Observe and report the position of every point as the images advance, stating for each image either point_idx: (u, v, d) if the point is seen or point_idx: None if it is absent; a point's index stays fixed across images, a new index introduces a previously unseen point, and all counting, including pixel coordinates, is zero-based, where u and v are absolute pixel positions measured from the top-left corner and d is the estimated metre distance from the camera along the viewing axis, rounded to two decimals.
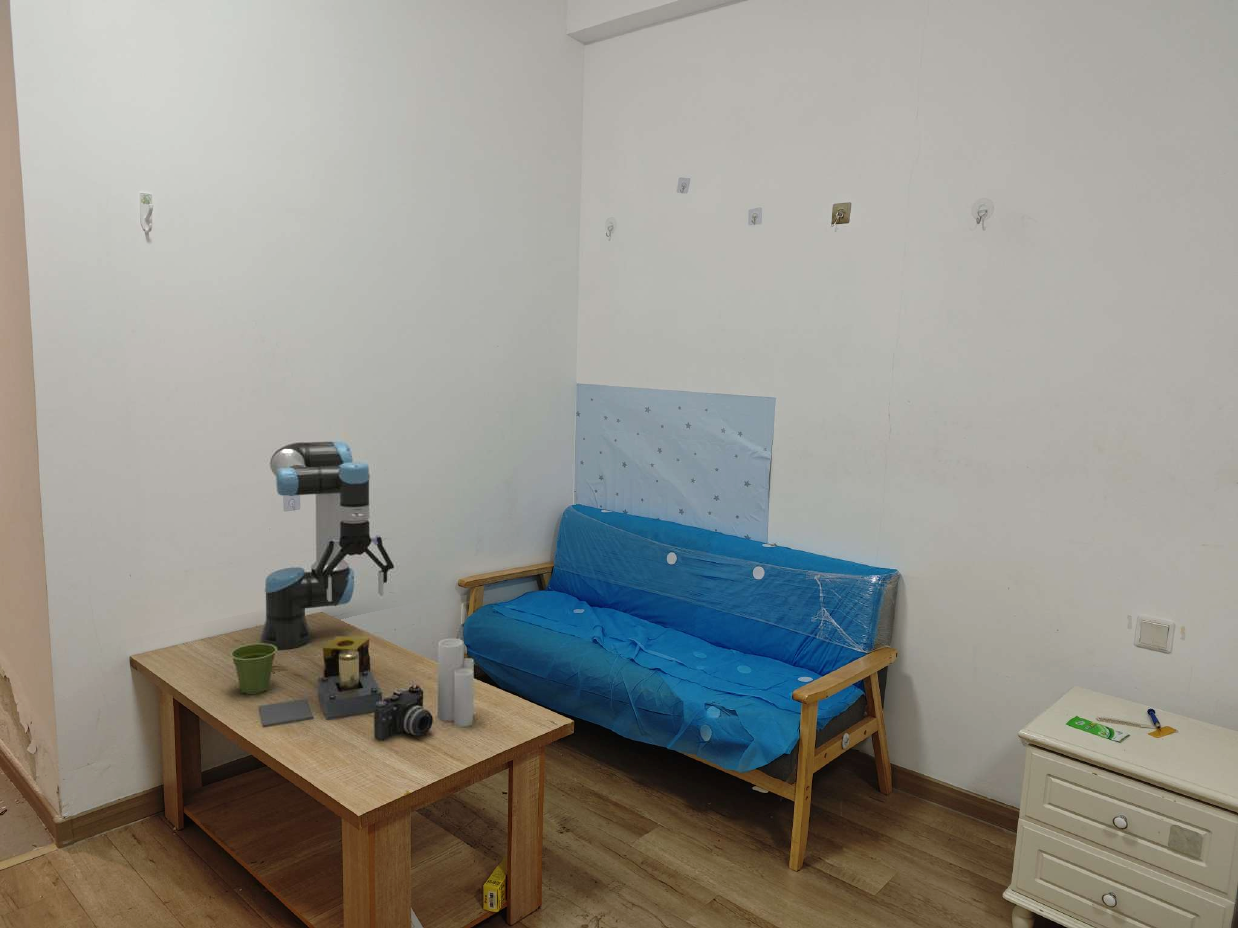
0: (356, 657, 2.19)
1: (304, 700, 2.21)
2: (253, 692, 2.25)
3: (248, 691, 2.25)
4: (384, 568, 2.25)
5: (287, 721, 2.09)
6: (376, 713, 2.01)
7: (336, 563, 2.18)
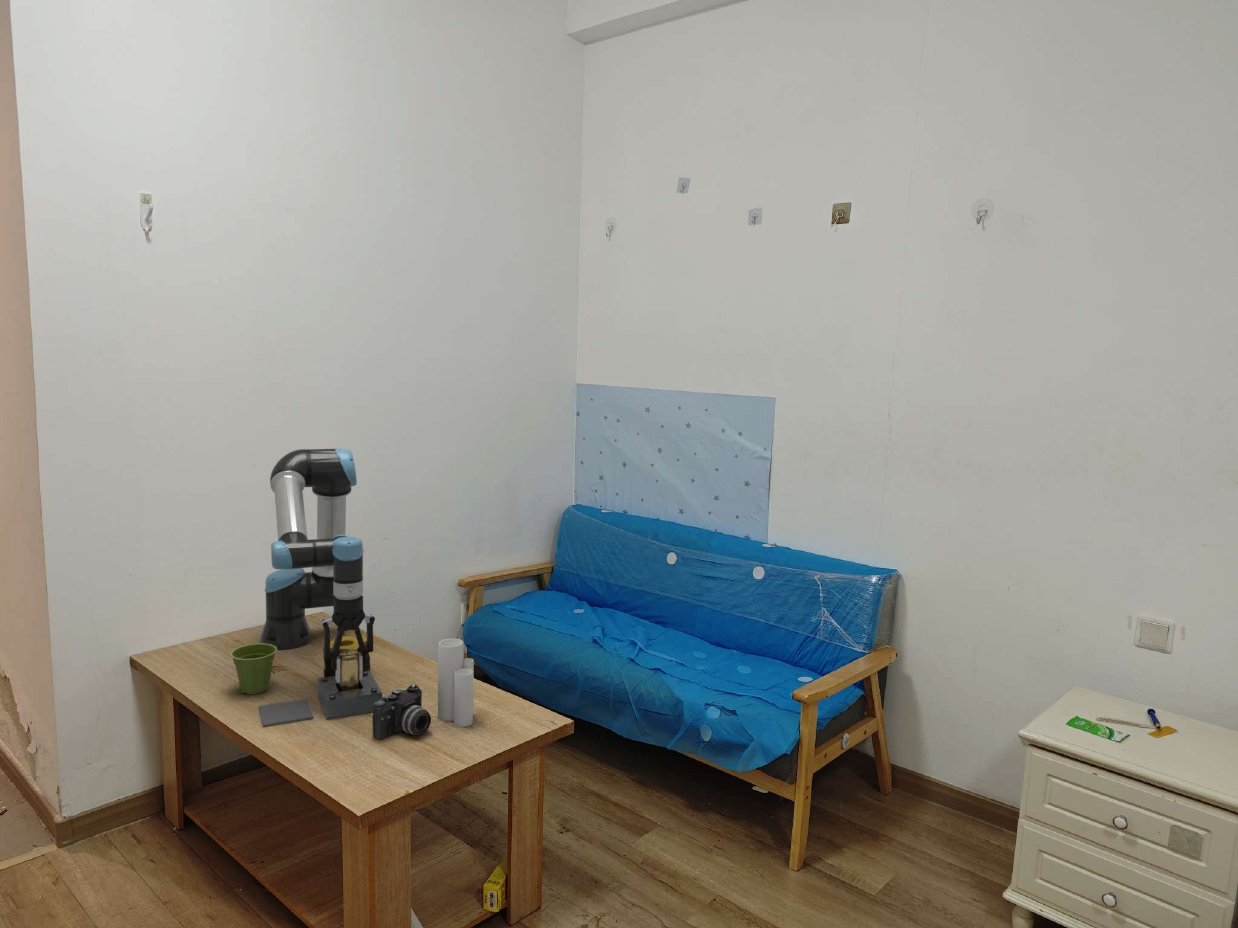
0: (356, 657, 2.19)
1: (304, 700, 2.21)
2: (253, 692, 2.25)
3: (248, 691, 2.25)
4: (364, 651, 2.21)
5: (287, 721, 2.09)
6: (374, 712, 2.02)
7: (339, 642, 2.17)
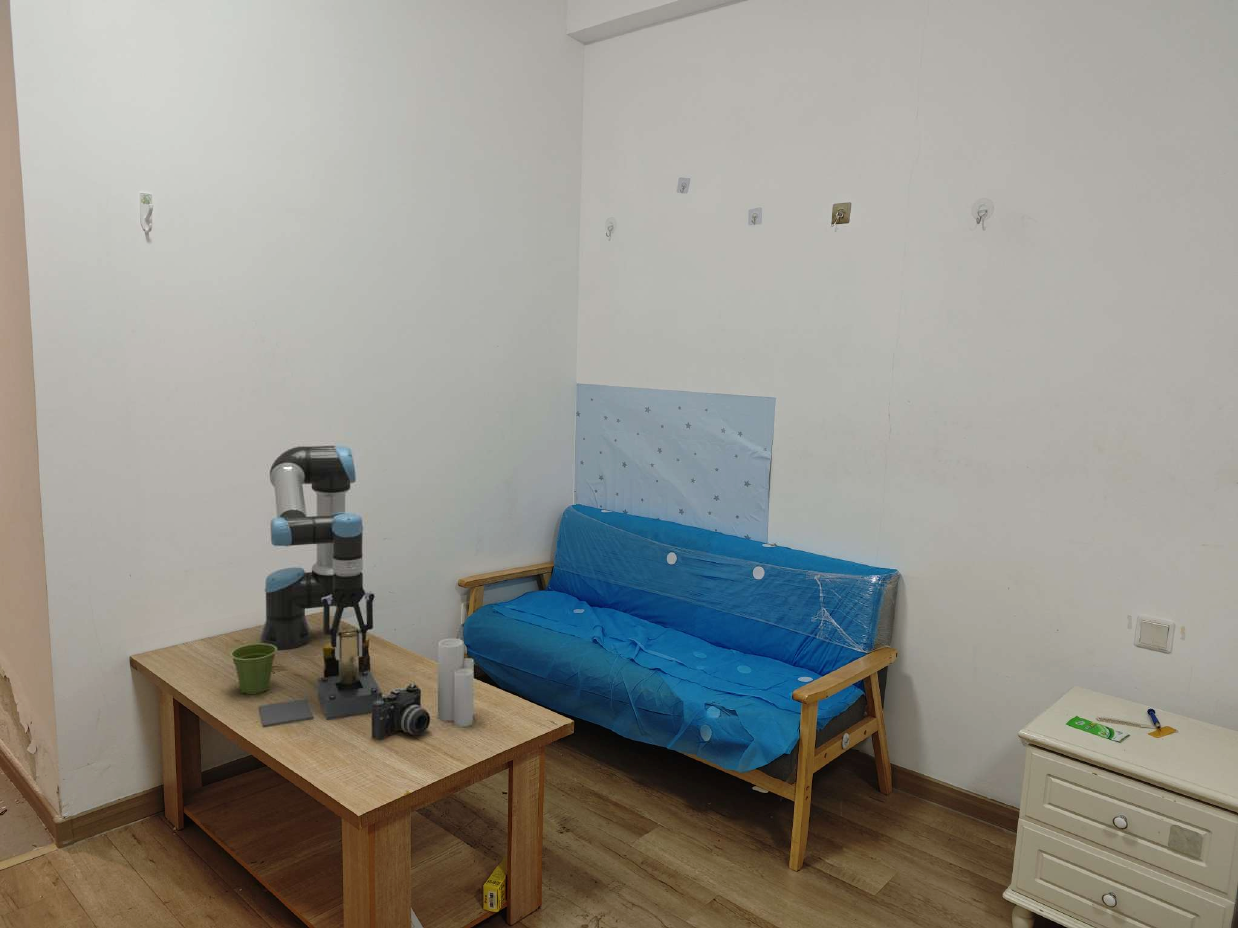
0: (356, 634, 2.19)
1: (304, 700, 2.21)
2: (253, 692, 2.25)
3: (248, 691, 2.25)
4: (363, 628, 2.20)
5: (287, 721, 2.09)
6: (374, 712, 2.02)
7: (338, 619, 2.17)
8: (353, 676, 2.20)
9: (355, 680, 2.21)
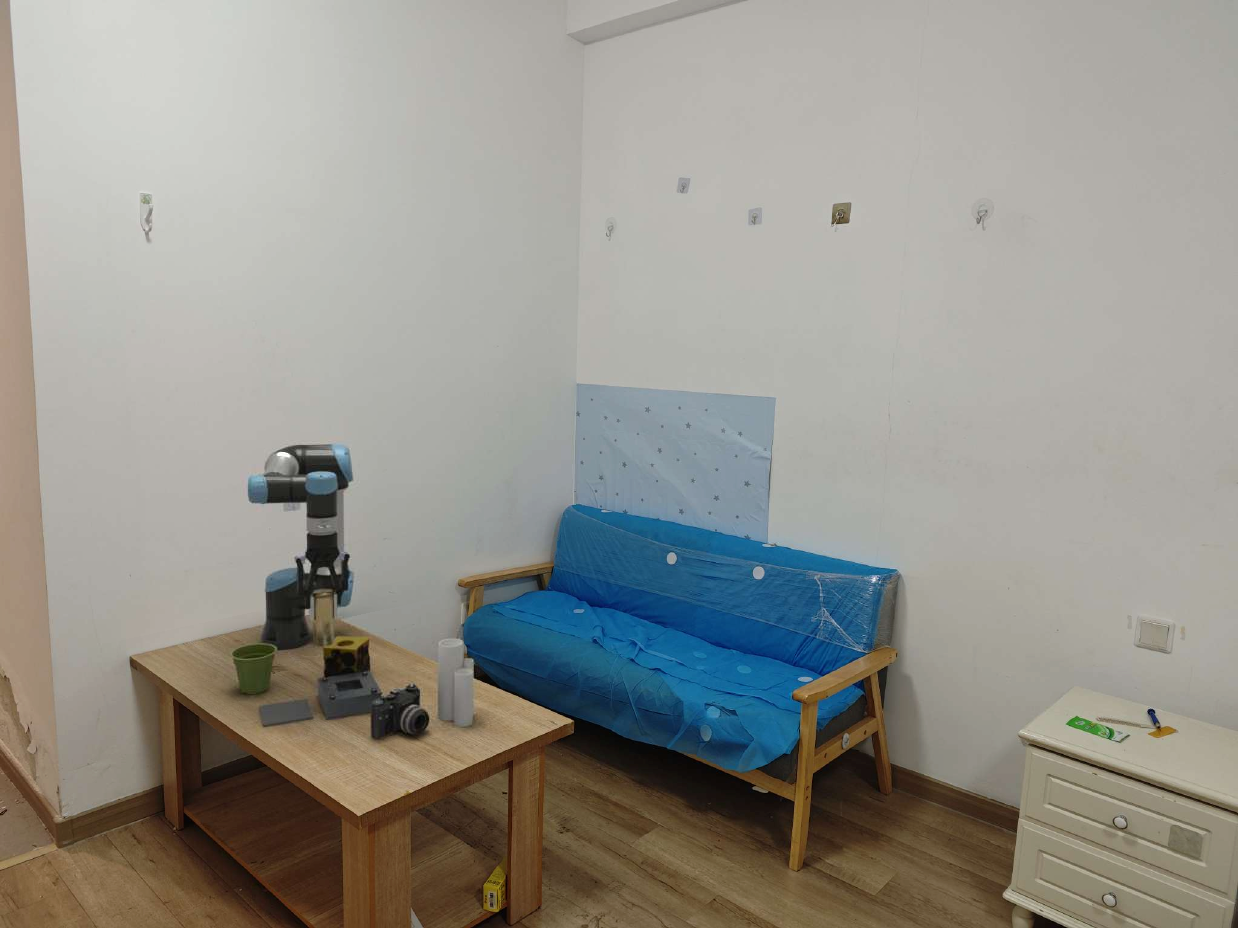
0: (331, 595, 2.14)
1: (304, 700, 2.21)
2: (253, 692, 2.25)
3: (248, 691, 2.25)
4: (338, 590, 2.15)
5: (287, 721, 2.09)
6: (373, 712, 2.02)
7: (312, 580, 2.12)
8: (328, 638, 2.15)
9: (330, 642, 2.16)
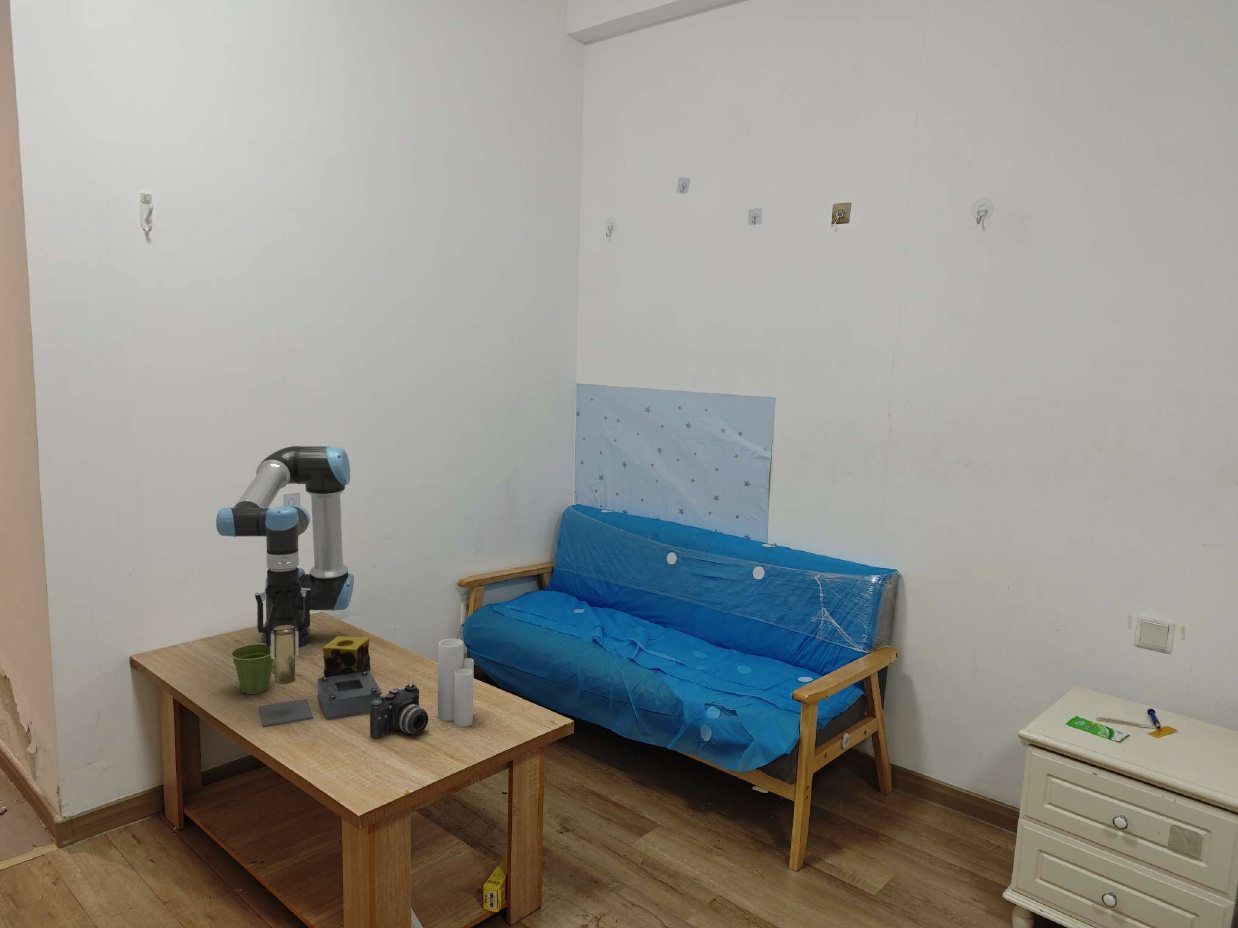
0: (291, 632, 2.10)
1: (304, 700, 2.21)
2: (253, 692, 2.25)
3: (248, 691, 2.25)
4: (300, 626, 2.12)
5: (287, 721, 2.09)
6: (372, 711, 2.02)
7: (273, 616, 2.08)
8: (289, 675, 2.11)
9: (291, 680, 2.12)
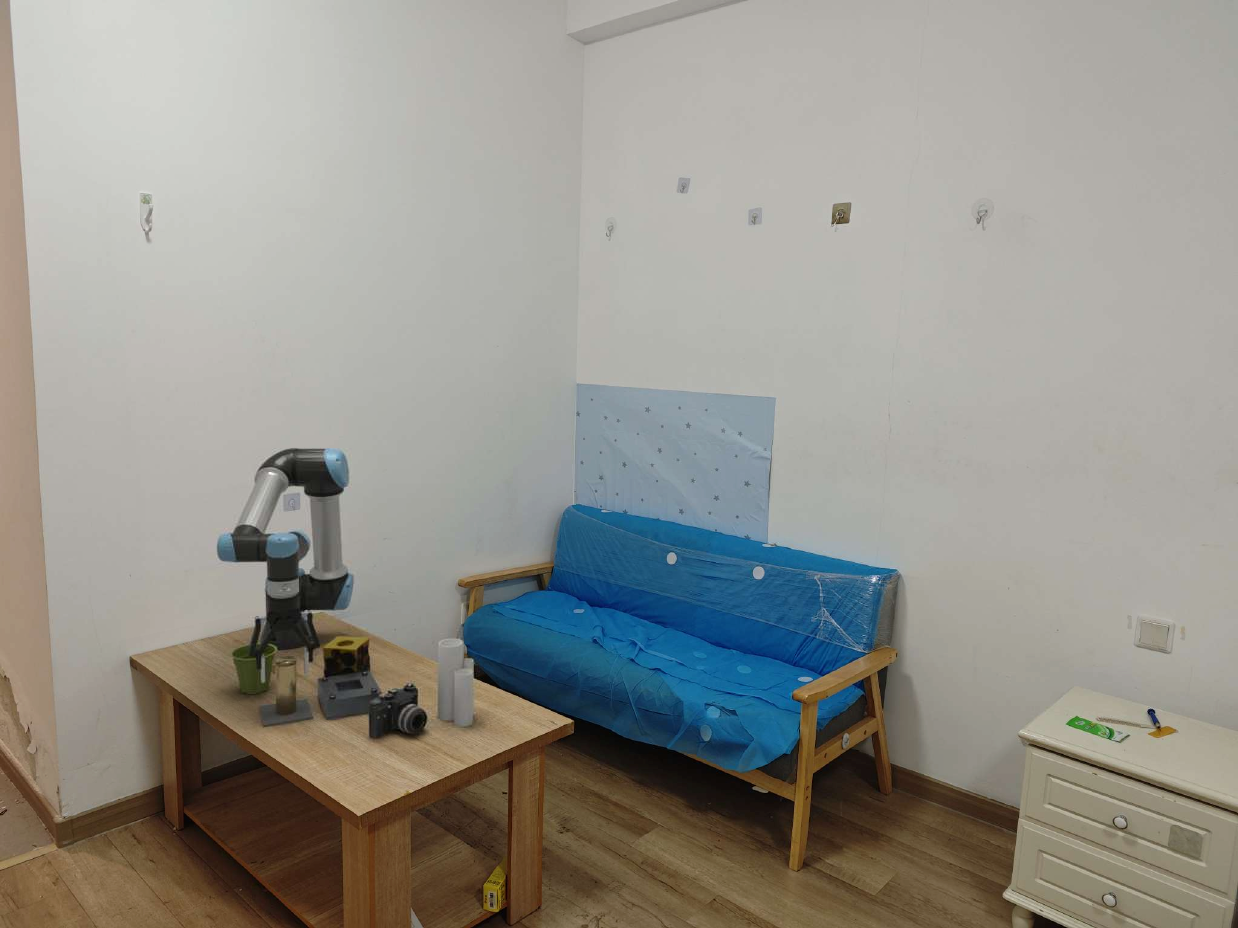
0: (293, 663, 2.12)
1: (304, 700, 2.21)
2: (253, 692, 2.25)
3: (248, 691, 2.25)
4: (310, 647, 2.14)
5: (287, 721, 2.09)
6: (371, 711, 2.02)
7: (267, 641, 2.09)
8: (290, 706, 2.13)
9: (292, 711, 2.13)
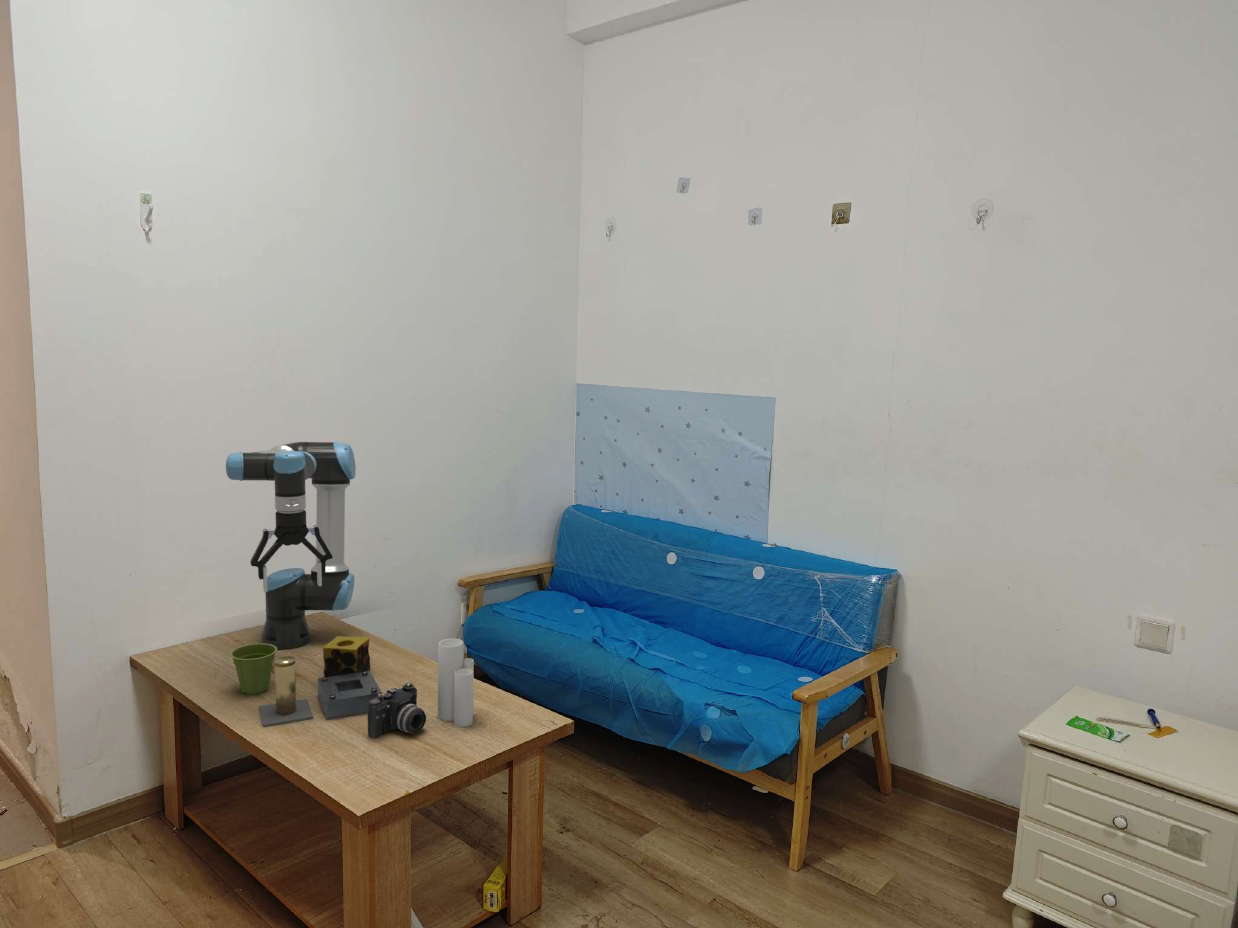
0: (292, 663, 2.12)
1: (304, 700, 2.21)
2: (253, 692, 2.25)
3: (248, 691, 2.25)
4: (322, 558, 2.21)
5: (287, 721, 2.09)
6: (370, 711, 2.02)
7: (271, 553, 2.15)
8: (290, 706, 2.13)
9: (292, 711, 2.13)
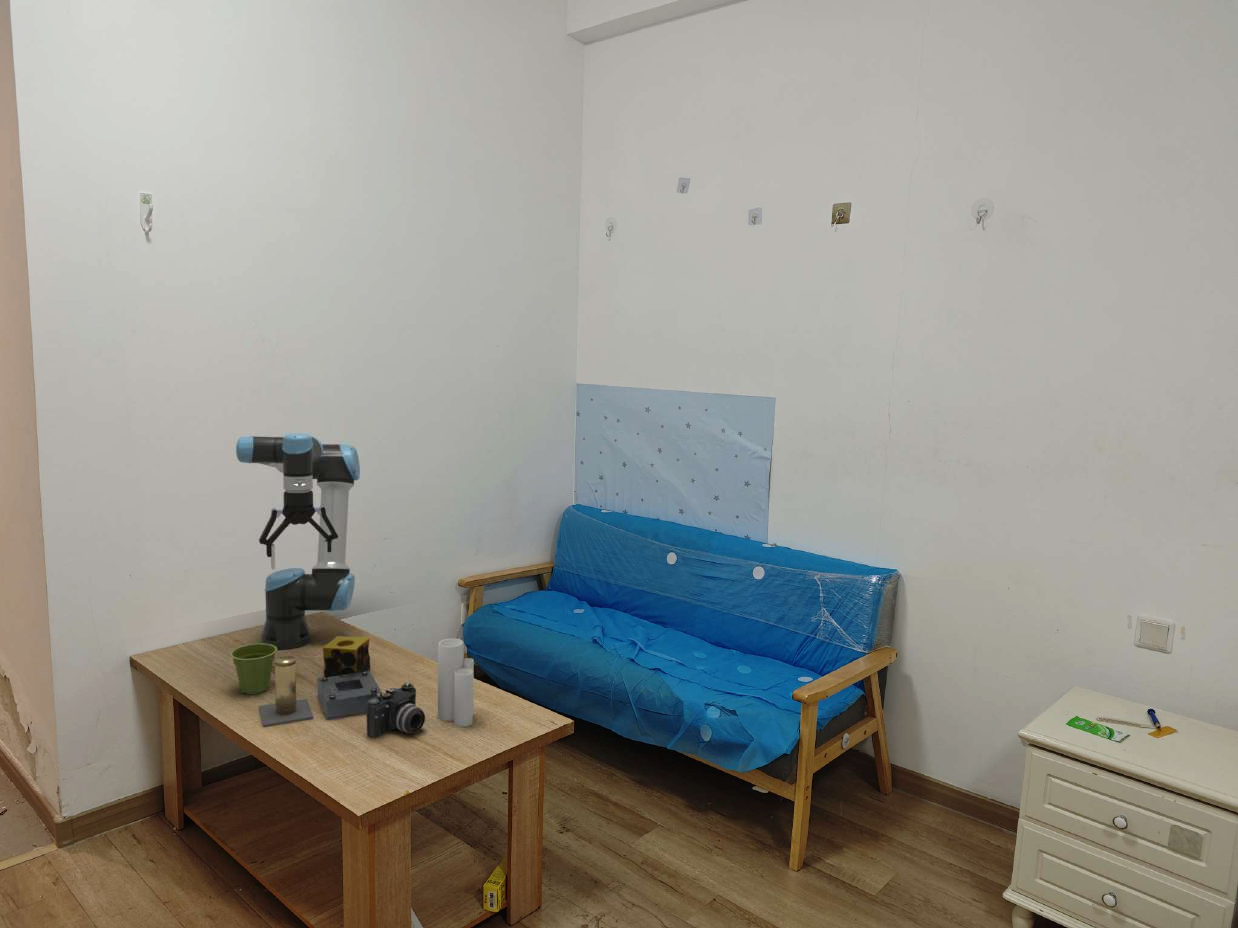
0: (292, 663, 2.12)
1: (304, 700, 2.21)
2: (253, 692, 2.25)
3: (248, 691, 2.25)
4: (328, 538, 2.29)
5: (287, 721, 2.09)
6: (369, 710, 2.02)
7: (279, 532, 2.23)
8: (290, 706, 2.13)
9: (292, 711, 2.13)
